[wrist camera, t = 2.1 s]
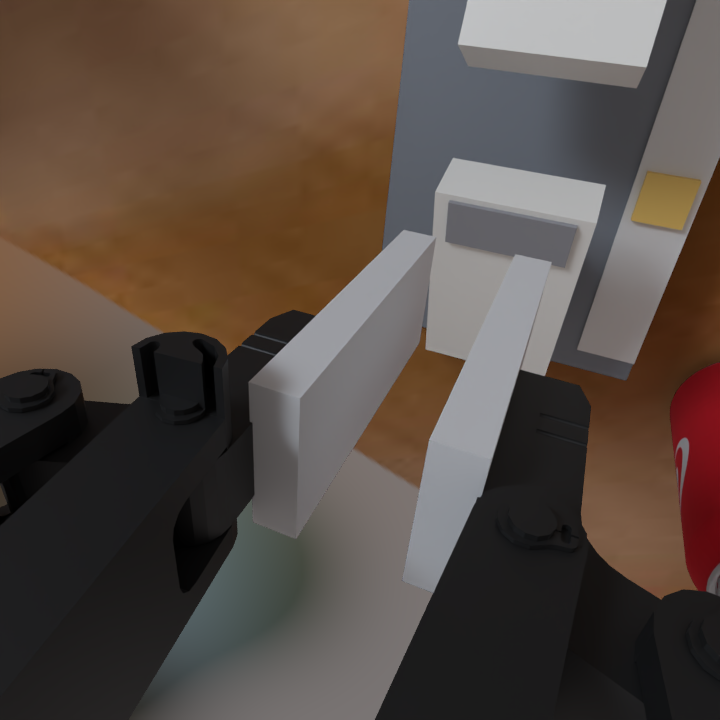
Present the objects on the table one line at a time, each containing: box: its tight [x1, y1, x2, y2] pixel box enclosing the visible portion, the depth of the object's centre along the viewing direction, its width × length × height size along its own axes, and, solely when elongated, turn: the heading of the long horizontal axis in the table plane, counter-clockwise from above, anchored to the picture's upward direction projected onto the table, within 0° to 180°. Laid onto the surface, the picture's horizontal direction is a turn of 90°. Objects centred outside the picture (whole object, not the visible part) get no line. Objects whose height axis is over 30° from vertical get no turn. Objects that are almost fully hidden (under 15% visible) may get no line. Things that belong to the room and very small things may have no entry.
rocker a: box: [426, 158, 606, 376], centre depth 21 cm, size 5×8×2 cm, turn 174°
